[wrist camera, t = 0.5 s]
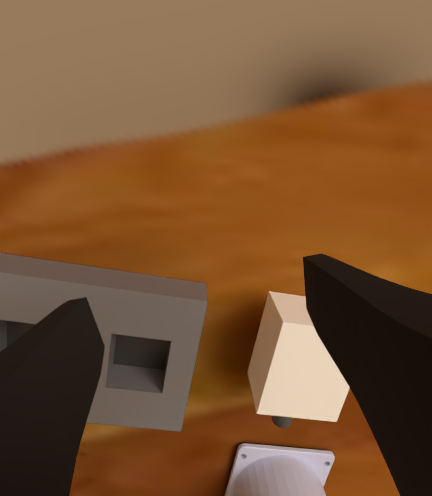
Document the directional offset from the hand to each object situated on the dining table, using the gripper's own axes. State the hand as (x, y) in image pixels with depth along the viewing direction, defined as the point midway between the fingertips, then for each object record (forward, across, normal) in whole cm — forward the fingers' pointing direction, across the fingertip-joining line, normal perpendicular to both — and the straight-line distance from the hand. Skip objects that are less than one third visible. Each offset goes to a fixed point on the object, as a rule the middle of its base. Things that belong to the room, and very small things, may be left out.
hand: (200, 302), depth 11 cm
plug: (+10, -4, +10) cm, 15 cm away
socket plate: (+10, +8, +7) cm, 15 cm away
